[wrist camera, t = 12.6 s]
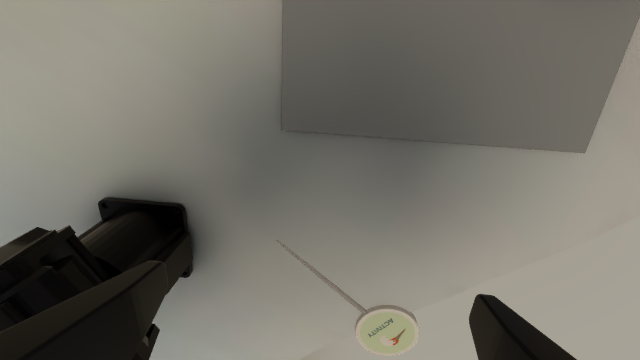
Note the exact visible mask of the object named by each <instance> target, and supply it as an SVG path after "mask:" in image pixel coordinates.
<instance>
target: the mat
mask: <svg viewBox="0 0 640 360" xmlns="http://www.w3.org/2000/svg"><path fill="white" fill-rule="evenodd" d="M639 17H640V0H283V10H282V103H281V130H287V131H300V132H313V133H326V134H340V135H353V136H366V137H379V138H392V139H405V140H418V141H431V142H444V143H457V144H470V145H483V146H496V147H509V148H522V149H535V150H549V151H562V152H575V153H585V152H586V149H587V147H588V144H589V142H590V139H591V137H592V134H593V132H594V129H595V127H596V124H597V122H598V119H599V117H600V114H601V112H602V109H603V107H604V104H605V102H606V99H607V97H608V94H609V92H610V89H611V87H612V84H613V82H614V79H615V77H616V74H617V72H618V69H619V67H620V64H621V62H622V59H623V57H624V54H625V52H626V49H627V47H628V44H629V42H630V39H631V37H632V34H633V32H634V29H635V27H636V24H637V22H638V19H639Z"/></svg>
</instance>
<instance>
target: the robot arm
mask: <svg viewBox="0 0 640 360" xmlns="http://www.w3.org/2000/svg"><path fill="white" fill-rule="evenodd" d="M105 203H106V204H107V205H108V206H107V205H106V204H105ZM98 206H99V210H100V214H101V218H102V221H100V222H99V223H98V224H96V225H95V226H93V227H92V228H90V229H89V230H87V231H86V232H84V233H83V234H81V235H80V236H78V237H77V236H76V235H75V233H76V232H75V231H74V230H73V229H72V228H71V227H70V225H69V226H67V227H65V228H63V229H61V230H59V231H56V230H53V231H52V230H51V231H48V230H45V229H42V228H39V227H36V228H35V229H33V230H31V231H29V232H27V233H25V234H23V235H22V236H20V237H18V238H16V239H15V240H13V241H11V242H9V243H7V244H6V245H4V246H2V247H0V360H149V358H150V355H151V352H152V350H153V347H154V344H155V342H156V339H157V336H158V334H159V331H160V330H159V328H158V327H157V326H156V325H155V324H152V321H153V319H154V317H155V315H156V313H157V311H158V309H159V307H160V305H161V303H162V301H163V299H164V297H165V295H166V294H168V292H169V291H170V290H171V288H172V287H173V286H174V284H175V283H176V282H177V280H178V279H179V277H184V278H187V277H189V276H190V274H191V273H192V262H191V261H192V260H193V256H192V247H191V239H190V233H189V232H188V228H187V220H186V212H185V208H184V207H183V206H182V205H180V204H172V203H161V202H150V201H139V200H128V199H117V198H104V199H102V200H101V201H99V203H98ZM176 210H178V211H179V213H178V212H176ZM185 271H187V272H185ZM469 324H470V328H471V332H472V336H473V340H474V344H475V348H476V352H477V356H478V359H479V360H576V359H575V358H574V357H573V356H571V355H570V354H569V353H568V352H566V351H565V350H564V349H562V348H561V347H560V346H558V345H557V344H556V343H555V342H553V341H552V340H551V339H549V338H548V337H547V336H545V335H544V334H543V333H542V332H540V331H539V330H538V329H536V328H535V327H534V326H532V325H531V324H530V323H528V322H527V321H526V320H525V319H523V318H522V317H521V316H519V315H518V314H517V313H516V312H514V311H513V310H512V309H510V308H509V307H508V306H506V305H505V304H504V303H503V302H501V301H500V300H499V299H497V298H496V297H495V296H492V295H484V294H479V295H477V296H476V297H475V300H474V303H473V307H472V309H471V313H470V316H469Z"/></svg>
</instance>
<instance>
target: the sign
mask: <svg viewBox="0 0 640 360" xmlns="http://www.w3.org/2000/svg"><path fill="white" fill-rule="evenodd" d="M277 242H278V243H280V242H279V241H278V240H277ZM280 244H281V245H282V246H283V247H284V248H285V249H286V250H288V251H289V252H290V253H291V254H292V255H293V256H295V257H296V258H297V259H298V260H299V261H301V262H302V263H303V264H304V265H305V266H307V267H308V268H309V269H310V270H311V271H313V272H314V273H315V274H316V275H317V276H319V277H320V278H321V279H322V280H323V281H325V282H326V283H327V284H328V285H329V286H331V287H332V288H333V289H334V290H336V291H337V292H338V293H339V294H340V295H342V296H343V297H344V298H345V299H346V300H348V301H349V302H350V303H351V304H352V305H354V306H355V307H356V308H357V309H358V310H360V311H361V312H362V313H363V314H362V315H361V316H360V317H359V318H358V320H357V323H356V337H357V340H358V341H359V343H360V344H361V345H362V346H363V347H364V348H365V349H366V350H368V351H370V352H372V353H374V354H377V355H383V356H393V355H398V354H401V353H404V352H406V351H408V350H409V349H411V348H412V347H413V346H414V345H415V343H416V341H417V340H418V336H419V330H418V325H417V321H416V318H415V316H414V314H413V313H412V312H411V313H409V312H408V311H406V310H405V309H403V308H400V307H397V306H392V305H381V306H376V307H373V308H370V309H368V310H367V311H366V310H365V309H364V308H363V307H361V306H360V305H359V304H358V303H356V302H355V301H354V300H353V299H352V298H350V297H349V296H348V295H347V294H345V293H344V292H343V291H342V290H340V289H339V288H338V287H337V286H335V285H334V284H333V283H332V282H330V281H329V280H328V279H327V278H325V277H324V276H323V275H322V274H320V273H319V272H318V271H317V270H315V269H314V268H313V267H312V266H310V265H309V264H308V263H306V262H305V261H304V260H303V259H301V258H300V257H299V256H298V255H296V254H295V253H294V252H292V251H291V250H290V249H289V248H287V247H286V246H285V245H283V244H282V243H280Z"/></svg>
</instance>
